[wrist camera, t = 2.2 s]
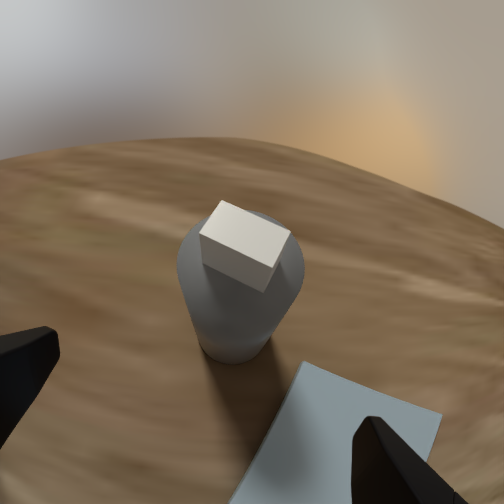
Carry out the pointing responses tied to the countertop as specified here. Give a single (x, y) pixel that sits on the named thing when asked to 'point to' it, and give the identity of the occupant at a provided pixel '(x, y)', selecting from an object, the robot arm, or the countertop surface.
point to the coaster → (324, 439)
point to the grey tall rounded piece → (238, 280)
